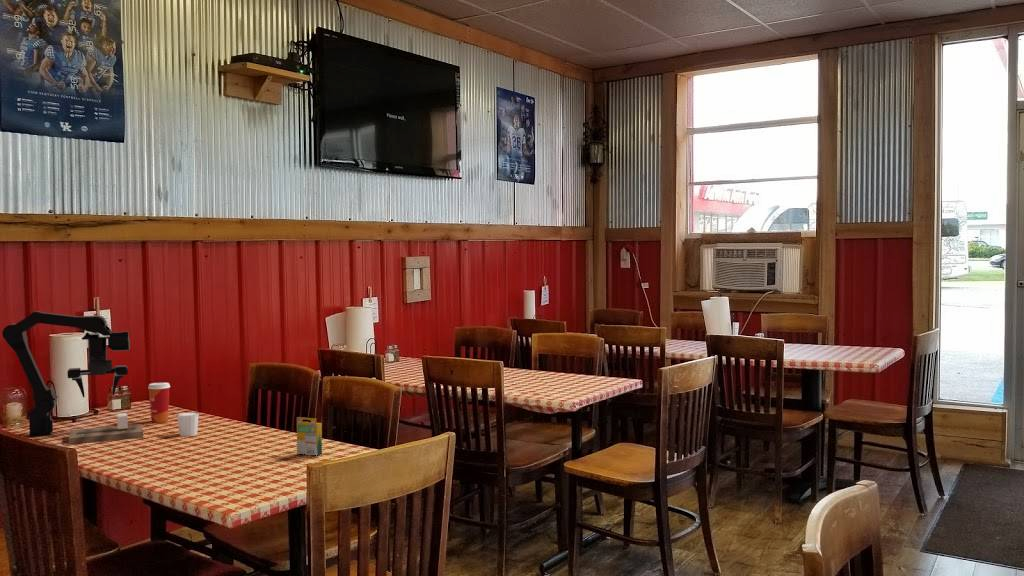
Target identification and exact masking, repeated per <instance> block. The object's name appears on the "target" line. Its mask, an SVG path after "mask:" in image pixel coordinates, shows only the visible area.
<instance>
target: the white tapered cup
mask: <svg viewBox="0 0 1024 576" xmlns="http://www.w3.org/2000/svg"><path fill="white" fill-rule="evenodd" d="M199 415H200V414H199V413H198V412H183V413H179V414H177V416H176V417H177V425H178V426H177V427H178V434H179V436H180V437H191V436H196V435H197V434H198V427H199Z"/></svg>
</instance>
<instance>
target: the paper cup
mask: <svg viewBox="0 0 1024 576" xmlns="http://www.w3.org/2000/svg"><path fill="white" fill-rule="evenodd" d="M170 388H171V385H170V382H151V383H149V384H148V387H147V389H148V396H149V407H150V408H149V409H150V419H151V423H152V424H163V423H167V422H168V421H169V410H170V409H169V408H170Z"/></svg>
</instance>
